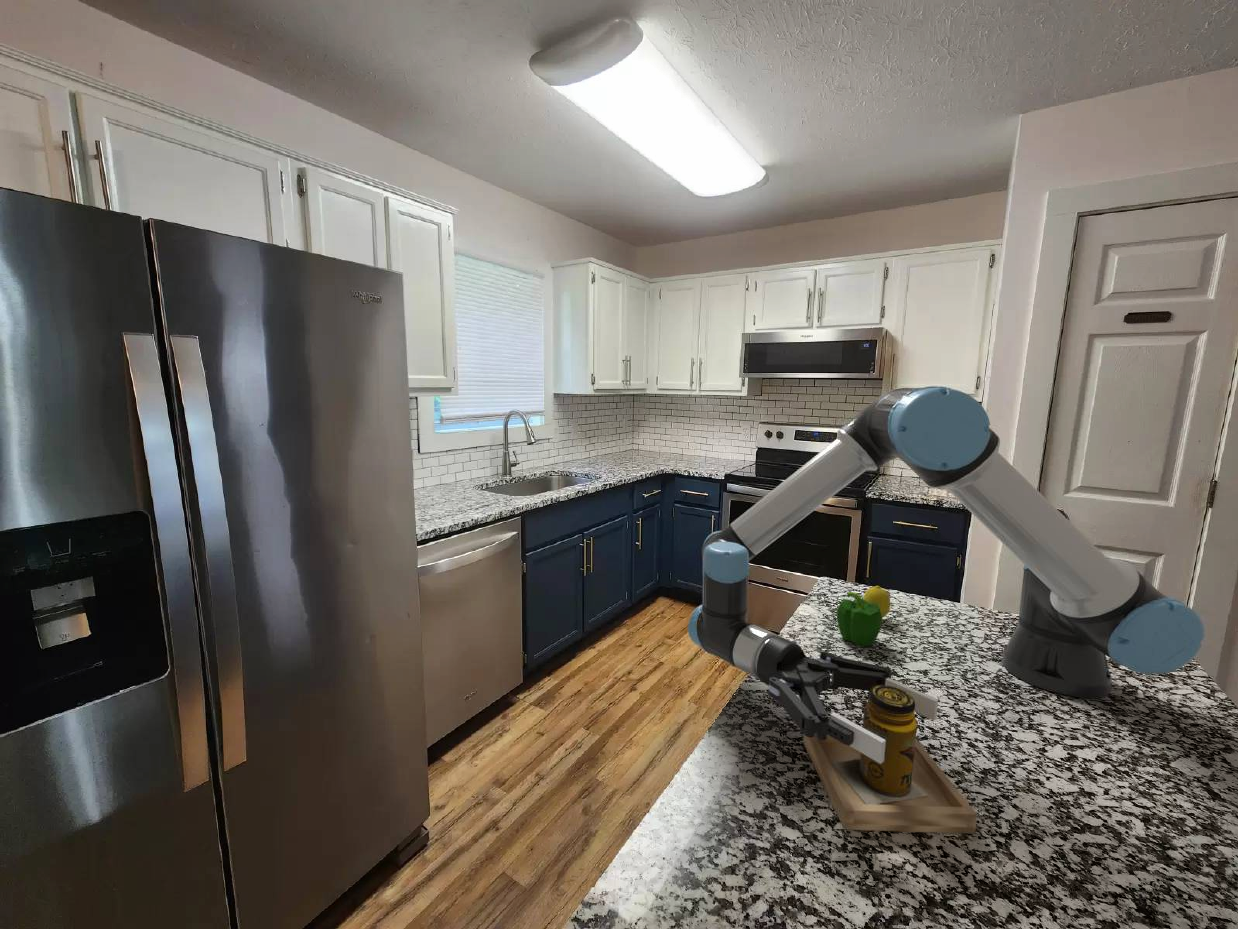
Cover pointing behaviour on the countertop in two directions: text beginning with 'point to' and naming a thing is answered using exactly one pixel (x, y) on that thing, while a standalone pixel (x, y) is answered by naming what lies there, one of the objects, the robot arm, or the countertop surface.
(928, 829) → the tray
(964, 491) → the robot arm
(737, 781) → the countertop surface
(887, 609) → the lemon
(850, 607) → the bell pepper
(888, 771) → the condiment
